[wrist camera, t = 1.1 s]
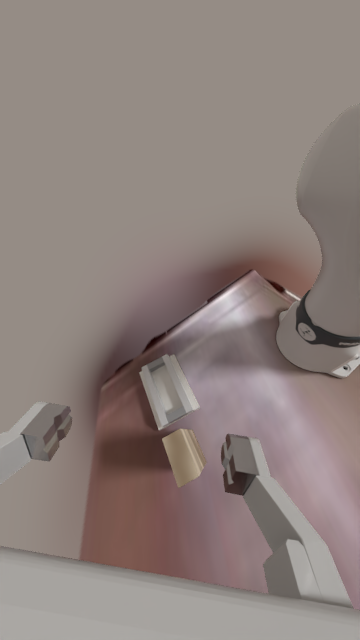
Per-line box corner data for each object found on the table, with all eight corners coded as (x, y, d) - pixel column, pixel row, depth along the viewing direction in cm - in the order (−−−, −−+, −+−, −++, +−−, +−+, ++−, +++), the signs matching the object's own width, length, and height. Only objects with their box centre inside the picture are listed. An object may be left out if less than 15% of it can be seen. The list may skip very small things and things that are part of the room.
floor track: (175, 355, 49) (172, 351, 46) (200, 407, 41) (198, 406, 38) (140, 373, 48) (136, 370, 45) (160, 430, 40) (155, 430, 38)
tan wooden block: (192, 429, 39) (179, 428, 28) (206, 462, 36) (198, 476, 24) (180, 436, 39) (161, 438, 27) (193, 469, 36) (178, 488, 24)
